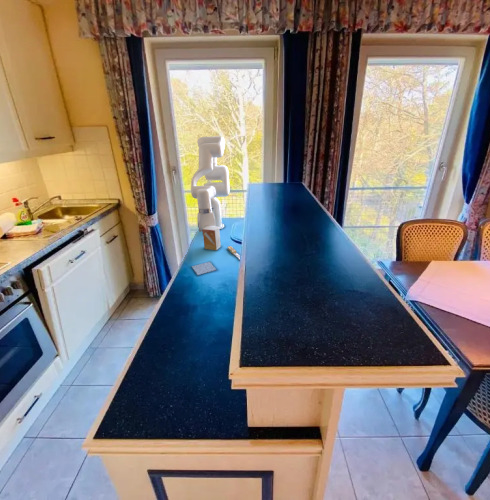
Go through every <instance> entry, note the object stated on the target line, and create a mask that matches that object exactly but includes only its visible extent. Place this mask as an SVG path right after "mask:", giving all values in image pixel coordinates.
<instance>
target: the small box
mask: <svg viewBox="0 0 490 500" xmlns="http://www.w3.org/2000/svg"><path fill="white" fill-rule="evenodd" d="M202 230H203V232H202V238H203V246H204V250H210V251H218V250H219V249H220V248H221V247H222V243H221V232H220V229H219V227H217V226H206V227H205V228H203V229H202Z"/></svg>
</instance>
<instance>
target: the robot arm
mask: <svg viewBox="0 0 490 500" xmlns="http://www.w3.org/2000/svg"><path fill="white" fill-rule="evenodd" d="M197 146H198V169H197V170H196V171H195V173H194V174H193V175H192V177H191V181H190V182H191V183H190V193H191V197H192V198H193V199H196V200H197V208H198V209H197V210H198V212H197V216H196V221H197V228H198V232H201V233H203V230H202V229H203V228H205V227H206V226H217V227H219V230H222V229H224V228H225V224H224V223H223V221H222V209H221V202H220V200H219V199H218V198H223V197H225V198H226V197H228V196H229V195H230V173H229V168H228V166H227V165H218V158H222V157H223V156H224V153H225V147H226V141H225V138H224V137H223V136H221V135H220V136H218V135H215V136H214V135H213V136H201V137H199V138H197ZM203 177H205V179H206V180H207V181H212V182H206V183H204V185H197V184H198V181H199V180H200V179H201V178H203ZM213 181H214V182H213ZM216 181H220V182H216Z"/></svg>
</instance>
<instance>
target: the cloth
mask: <svg viewBox="0 0 490 500" xmlns="http://www.w3.org/2000/svg"><path fill="white" fill-rule="evenodd" d="M191 268H192V269H193V271H194V272H195V274H196V275H197V276H200V275H204V274H208V273H211V272H215V271H217V269H216V267H215V266H214V265H213V264H212V262H211V261H207V262H203V263H199V264H196V265H192V266H191Z"/></svg>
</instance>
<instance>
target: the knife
mask: <svg viewBox="0 0 490 500" xmlns="http://www.w3.org/2000/svg"><path fill="white" fill-rule="evenodd" d="M227 250H228V251H229V252H230V253H231V254H232V255H233V256H234V257H236V258H237V259H238V260H239V261H241V260H240V256H241V255H240V254H239V253H238V252H237V250H236V249H235V248H234V247H233V246H231V245H228V246H227Z"/></svg>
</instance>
